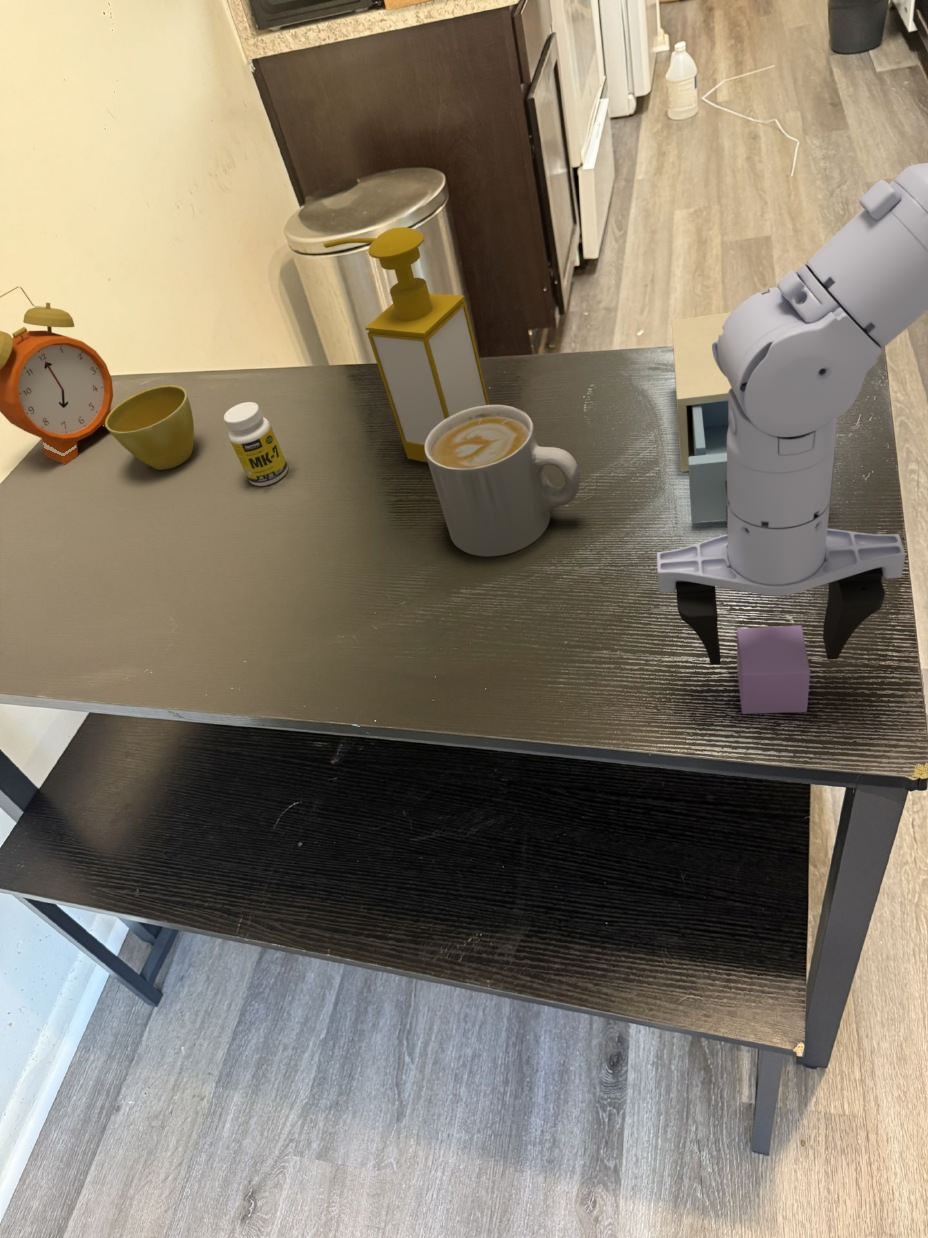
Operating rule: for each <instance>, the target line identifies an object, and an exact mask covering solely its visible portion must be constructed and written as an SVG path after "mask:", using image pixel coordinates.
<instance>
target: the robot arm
mask: <svg viewBox="0 0 928 1238" xmlns="http://www.w3.org/2000/svg"><path fill="white" fill-rule="evenodd" d="M858 203H859V205H860V206H861V207H862V209H861V210H860V211H859V212H858V213H857V214H855V215H854V217H853V218H851V219H850V220H849V221H848V222H847V223H846V224H845V225H844V226H842V228H841V229H840V230H839V231H837V233H835V234H834V235H833V236H832V237H831V238H830V239H829V240H828V241H827V242H825V243H824V245H822V246H821V247H820V248H819V249H818V250H817V251H816V252H815V253H814V254H813V255H812V256H811V257H810V258H808V260H807V261H806V263H803V264H802V265H801V266H800V267H798V269H797V270H796V271H795V270H794V269H790V270H789V271H788V272H787V273H786V274H785V275H784V276H782V277H781V279H779V281H777V283H776V286H773V287H768V288H767V290H764V291H758V292H756V293H754V294H752V295H751V296H749V297H747V298H745V299H744V300H743V301H742V302H741V303H739V304H738V305H737V306H736V307H735V308H734V309H733V310H732V311H731V312H732V313H731V314H730V315H729V317H728V318H727V320H726V321H725V323H724V325H723V327H722V329H723V330H724V332H723V334H722V335H719V338H718V340H717V341H715V342H713V344H712V352H713V356H714V359H715V361H716V364H717V366H718V367H719V369H720V371H721V372H722V373H723V374H724V375H725V376H726V377H727V379H728V381H729V383H730V385H731V387H732V388H731V389H730V390H729V392H728V403H729V415H728V422H729V427H728V432H727V506H728V523H727V533H726V534H723V535H720V536H717V537H713V538H710V539H707V540H704V541H701V542H698V543H695V544H691V545H688V546H684V547H680V548H675V549H672V550H671V549H670V550H664V551H657V552H656V569H657V570H656V571H657V585H658V593H659V594H668V593H670V594H671V593H674V592H676V604H677V605H676V606H677V607H676V608H677V612H678V614H679V616H680V618H681V620H682V621H683V623H686V624H687V625H688V626H689V628H691V629H692V630H693V631H694V633H695V634H696V635H697V637H698V638H699V640H700V641H701V643H702V645H703V646H704V648H705V652H706V653H707V656H708V660H709V664H710V665H711V666H714V665H715V666H716V665H721V663H722V662H721V661H722V660H721V657H722V656H721V648H720V647H721V646H720V638H719V629H718V621H719V618H718V617H719V616H718V615H719V614H718V605H717V591H716V587H717V588H721V589H722V588H723V589H729V590H735V591H741V592H746V593H752V594H756V595H763V596H773V597H779V596H780V597H781V596H789V595H794V594H799V593H801V592H806V591H808V590H811V589H814V588H817V587H821V586H824V585H827V584H828V594H827V604H826V609H825V614H824V620H823V626H822V627H823V631H822V640H823V645H824V649H825V654H826V659H827V661H830V660H831V661H832V660H838V659H839V658H840V655H841V653H842V651H843V649H844V647H845V646H846V644H847V642H848V641H849V639H850V638H851V636H852V635H853V633H854V632H855V631H856V630H857V629H858V628H859V626H861V624H862V623H863V622H864V621H865V620H867V619H868V618H869V617H870V616H872V615H873V614H875V613H877V612H878V611H880V610H881V608H882V606H883V604H884V600H885V595H886V593H885V588H884V584H883V579H887V580H888V579H900V578H902V577H903V572H904V567H905V560H906V556H907V554H906V552H905V548H904V545H903V542H902V539H901V536H900V534H899V533H889V534H882V533H880V534H879V533H867V532H866V533H865V532H858V531H851V530H843V529H837V528H829V517H830V510H829V507H830V508H831V504H830V494H831V495H832V493H831V483H832V484H833V482H832V473H833V474H834V471H833V462H834V463H835V460H834V452H835V453H836V441H837V421H838V418H839V417H842V416H843V415H845V414H846V413H847V412H848V411H849V410H850V408H851V407H852V406H853V405H854V403H855V402H856V400H857V398H858V397H859V395H860V393H861V391H862V388H863V385H864V381H865V378H866V375H867V374H868V372H869V371H870V370H871V369H872V368H873V367H874V366H875V365H876V364H877V363H878V362H879V359H878V357H879V356H881V355H882V352H883V351H882V350H883V348H885V347H886V346H887V345H889V344H890V343H891V342H893V341H894V339H896V338H897V337H898V336H900V335H901V334H902V333H903V332H904V331H906V330H907V329H908V328H909V327H910V326H911V325H912V324H914V323H915V322H916V321H917V320H919V319H920V318H921V317H922V316H923V315H924V314H926V313H927V312H928V162H923V163H915V164H912V165H908V166H906V167H905V168H904V169H903V170H902V171H901V172H900V173H899V174H898V175H897V176H896V177H895V178H894V179H893V180H891V182H890V183H888V182H887V181H886V180H885V179H880V180H877V182H876V183H875V184H874V185H873V186H871V188H870V189H868V191H866V192H865V193H864V194H863V195H862V196H861V197H860V198H859V200H858Z"/></svg>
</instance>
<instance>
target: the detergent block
mask: <svg viewBox="0 0 928 1238" xmlns="http://www.w3.org/2000/svg"><path fill="white" fill-rule="evenodd" d="M808 657H809V656H808V652H807V646H806V641H805V636H804V630H803V626H802V625H801V624H799V625H798V624H797V625H781V626H763V627H745V628H744V627H741V628H737V629H736V673H737V680H738V690H739V698H740V708H741V713H742V714H743V715H751V714H753V715H754V714H781V713H782V714H783V713H784V714H785V713H787V714H788V713H807V712H808V706H809V705H808V704H809V693H810V692H809V691H810V679H811V667H810V664H809V663H810V661H809V658H808Z"/></svg>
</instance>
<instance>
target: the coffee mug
mask: <svg viewBox="0 0 928 1238" xmlns="http://www.w3.org/2000/svg"><path fill="white" fill-rule="evenodd" d="M535 431H536V430H535V426H534V423H533V421H532V419H531V417H530V415H528V414H527V413H526V412H525V411H524V410H521V409H519V408H517V407H513V406H510V405H505V404H490V405H485V406H478V407H473V408H470V409H467V410H463V411H461V412H458V413H456V414H454V415H452V416H450V417H448V418H446V419H445V420H443V421H442V422H441V423H439V424H438V425H437V426H436V427H435V428H434V429H433V430H432V431H431V432H430V434H429V435H428V437H427V439H426V442H425V454H426V458H427V461H428V462H427V464H428V468H429V471H430V474H431V478H432V481H433V484H434V487H435V491H436V494H437V497H438V501H439V504H440V507H441V511H442V513H443V516H444V520H445V523H446V527H447V530H448V533H449V537H450V540H451V542H452V543H453V544H454V545H455V547H457V548H458V549H459V550H461V551H463V552H465V553H467V554H469V555H472V556H477V557H500V556H505V555H508V554H512V553H515V552H518V551H521V550H523V549H525V548H527V547H528V546H530V545H531V544H533V543H534V542H536V541H537V540H538V539H539V538H540V537H542V535H543V534H544V533H545V531H546V530H547V528H548V527H549V523H550V520H551V510H552V509H555V508H559V507H561V506H565V505H566V504H568V503H570V502H572V501H573V500H574V499H575V497H576V496H577V494H578V492H579V489H580V481H581V478H580V477H581V475H580V469H579V466H578V463H577V461H576V459H575V458H574V457H573V456H572V454H570V452H568V451H567V450H565V449H562V448H559V447H553V446H540V445H538V441H537V437H536V432H535ZM545 466H554V467H556V468H558V469H559V470H560V471H561V473H562V475H563V477H564V483H565V484H564V486H562V487H561V486H560V487H557V486H555V485H553V484H552V483H550V481H549V480H548V478H547V476H546V473H545V469H544V467H545Z"/></svg>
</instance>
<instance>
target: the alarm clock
mask: <svg viewBox="0 0 928 1238" xmlns="http://www.w3.org/2000/svg"><path fill="white" fill-rule="evenodd" d="M18 288H20V289H21V291H22V293H23V294H24V295H25V298H27V300H28V301H29V303H30V304H31V306H33V307H31V308H29V309H27V311H26V312H25V313H24V316H23V319H22V321H23V323H24V324H26V325H32V326H39V327H46V328H47V330H28V329H27V327H26V326H23V327H21V328H19V329H18V330H16V331H14V332H13V333H11V334H9V333H8V332H5V331H3V330H0V413H1V415H3V417H4V418H5V419H6V420H7V421H8V422H9V423H10V424H11V425H13V426H15V427H17V428H19V429H20V430H22V431H24V432H26V433H28V434H30V435H33V436H35V437H37V438H39V439H41V441H42V443H43V442H44V443H46V444H47V445H49V446H50V447H53V448H54V449H56V450H57V451H59V452H61V453H65V452H66V451H68V450H69V449H71V448H72V447H74V446H75V445H77V446H78V442H79V441H80V440H84V438H87V437H89V436H91V435H93V433H95V432H96V431H97V430H98V429H99V428H100V427H102V428H105V429H107V428H106V426H105V421H106V418H107V416H108V415H109V413H110V412H111V411H112V410H111V408H112V403H113V399H114V387H113V377H112V376H111V373H110V371H109V368H108V365H107V363H106V362H105V361H104V360H103V358H102V356H100V354H99V353H98V352H97V350H95V349H94V348H93V347H92V346H90V345H88V344H87V343H85V342H84V341H83V340H80V339H76V338H73V337H70V336H67V335H63V334H60V333H56V332H53V330H52V329H53V328H75V322H74V320H73V319H74V318H73V316H71V315H70V313H69V312H67V311H65V310H63V309H61V308H55V307H54V308H53V307H51V302H45V306H41V305H40V306H39V305H38V306H37V305H34V304H33V302H32V300H31V299H30V297H29V296H28V295H27V293H26V291H24V289H23V288H22V287H21V286H16V287H14V288H12V289H11V290H9V291H7V292H5V293H3V294H1V295H0V298H2V297H4V296H6V295H7V294H9V293H11V292H13V291H15V290H16V289H18ZM103 425H104V426H103ZM78 452H79V451H78V447H77V448H75V449H74V450H72V451H71V452H69V453H68V454H66V455H65V456H61V455H59V454H57V453H54V452H52V451H50V450H47V449H45V448H43V453H44V454H43V455H44V457H47V458H49V459H52V460H53V461H56V462H59V463H61V464H63V465H66V464H67V463H69V462H71V461H72V460H74V459H75V458H77V457H78V456H79V453H78Z"/></svg>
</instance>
